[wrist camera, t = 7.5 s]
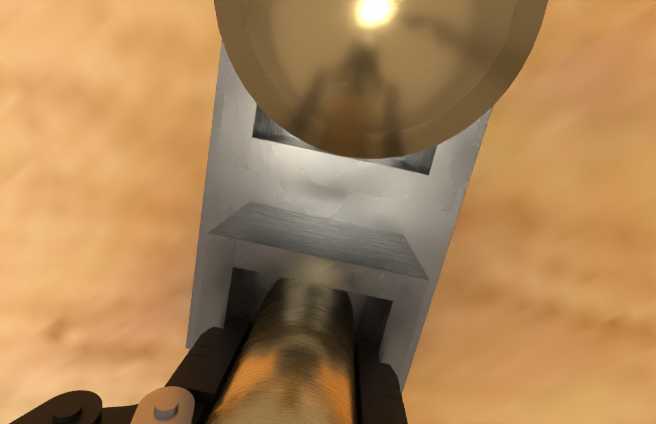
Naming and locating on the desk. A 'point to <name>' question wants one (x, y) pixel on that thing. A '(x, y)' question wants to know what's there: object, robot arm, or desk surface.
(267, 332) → the brass stub
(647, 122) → the desk surface
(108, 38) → the desk surface
